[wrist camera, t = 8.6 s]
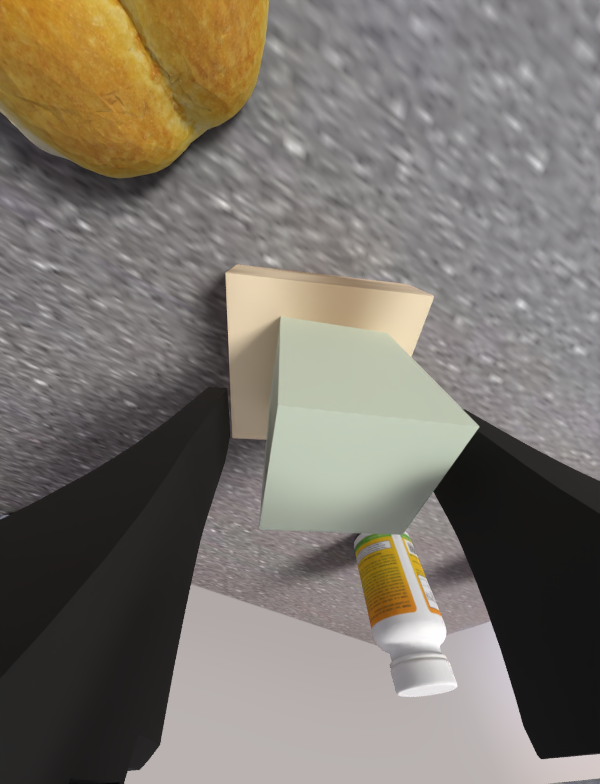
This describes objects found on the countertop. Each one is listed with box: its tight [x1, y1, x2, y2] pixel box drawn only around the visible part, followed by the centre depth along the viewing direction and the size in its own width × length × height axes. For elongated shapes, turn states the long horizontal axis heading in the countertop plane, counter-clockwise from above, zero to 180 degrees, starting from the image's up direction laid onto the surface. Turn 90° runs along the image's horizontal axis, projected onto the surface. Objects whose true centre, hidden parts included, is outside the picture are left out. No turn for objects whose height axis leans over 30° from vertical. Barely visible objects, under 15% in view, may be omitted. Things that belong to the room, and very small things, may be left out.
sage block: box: [259, 316, 479, 535], centre depth 9 cm, size 4×4×6 cm
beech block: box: [226, 265, 434, 440], centre depth 13 cm, size 8×8×3 cm
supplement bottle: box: [354, 531, 457, 697], centre depth 21 cm, size 5×5×10 cm
